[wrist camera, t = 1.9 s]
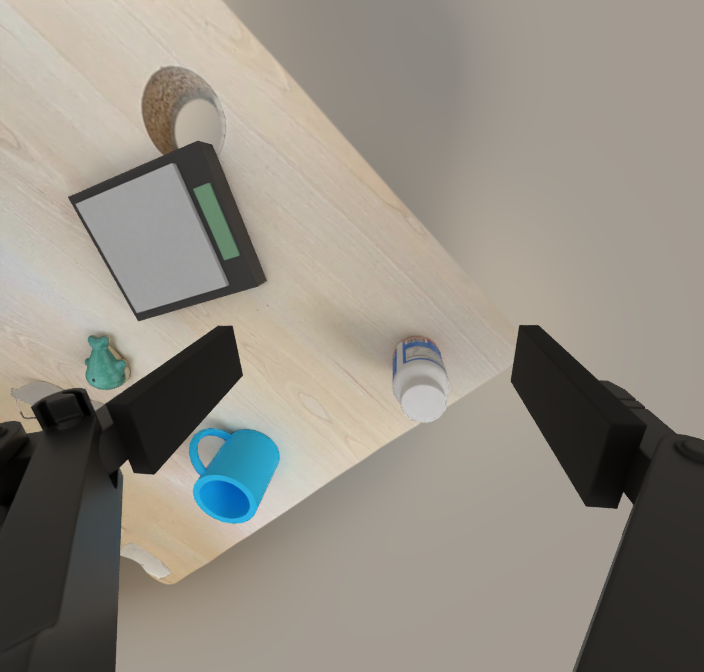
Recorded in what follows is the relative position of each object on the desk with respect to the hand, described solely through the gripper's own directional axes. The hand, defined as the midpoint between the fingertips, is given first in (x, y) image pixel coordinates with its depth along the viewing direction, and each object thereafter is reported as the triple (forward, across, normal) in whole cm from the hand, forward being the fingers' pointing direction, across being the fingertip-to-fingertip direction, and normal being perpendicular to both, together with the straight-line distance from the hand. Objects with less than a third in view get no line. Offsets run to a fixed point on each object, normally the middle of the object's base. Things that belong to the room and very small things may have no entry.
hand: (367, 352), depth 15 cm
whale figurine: (+21, -37, -11) cm, 44 cm away
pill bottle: (+21, +3, -10) cm, 24 cm away
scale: (+21, -23, +4) cm, 31 cm away
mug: (+21, -21, -25) cm, 39 cm away
